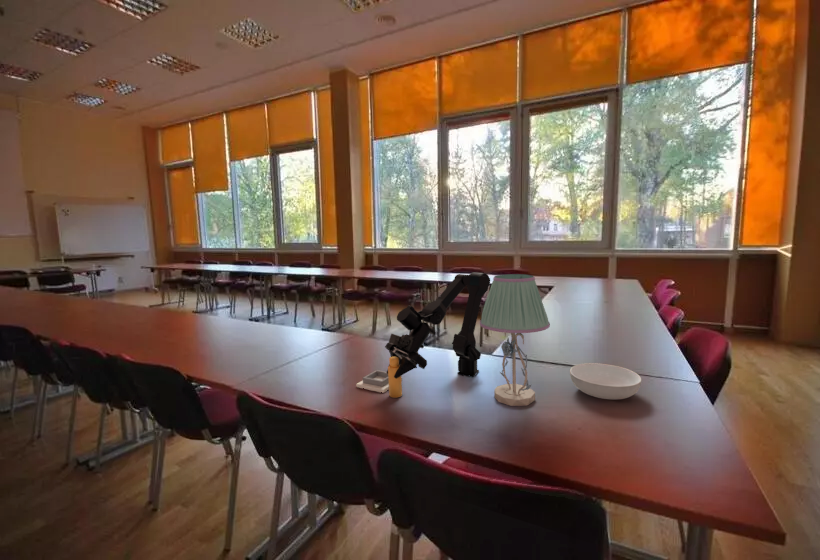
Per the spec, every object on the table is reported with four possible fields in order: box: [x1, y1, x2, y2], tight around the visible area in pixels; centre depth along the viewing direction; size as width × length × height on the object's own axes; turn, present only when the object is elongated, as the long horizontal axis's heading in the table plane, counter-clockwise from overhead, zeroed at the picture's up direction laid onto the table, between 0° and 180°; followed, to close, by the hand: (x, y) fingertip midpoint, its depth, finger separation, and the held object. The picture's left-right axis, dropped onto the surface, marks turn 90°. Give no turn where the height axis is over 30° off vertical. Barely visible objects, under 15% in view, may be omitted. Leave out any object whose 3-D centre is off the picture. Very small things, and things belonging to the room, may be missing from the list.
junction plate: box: [356, 369, 403, 394], centre depth 143 cm, size 12×12×3 cm
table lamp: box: [479, 273, 551, 407], centre depth 125 cm, size 22×22×40 cm
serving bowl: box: [569, 362, 643, 400], centre depth 128 cm, size 21×21×7 cm
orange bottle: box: [387, 356, 403, 399], centre depth 132 cm, size 4×4×13 cm
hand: (391, 375), depth 131 cm, fingers closed on orange bottle, 4 cm apart
